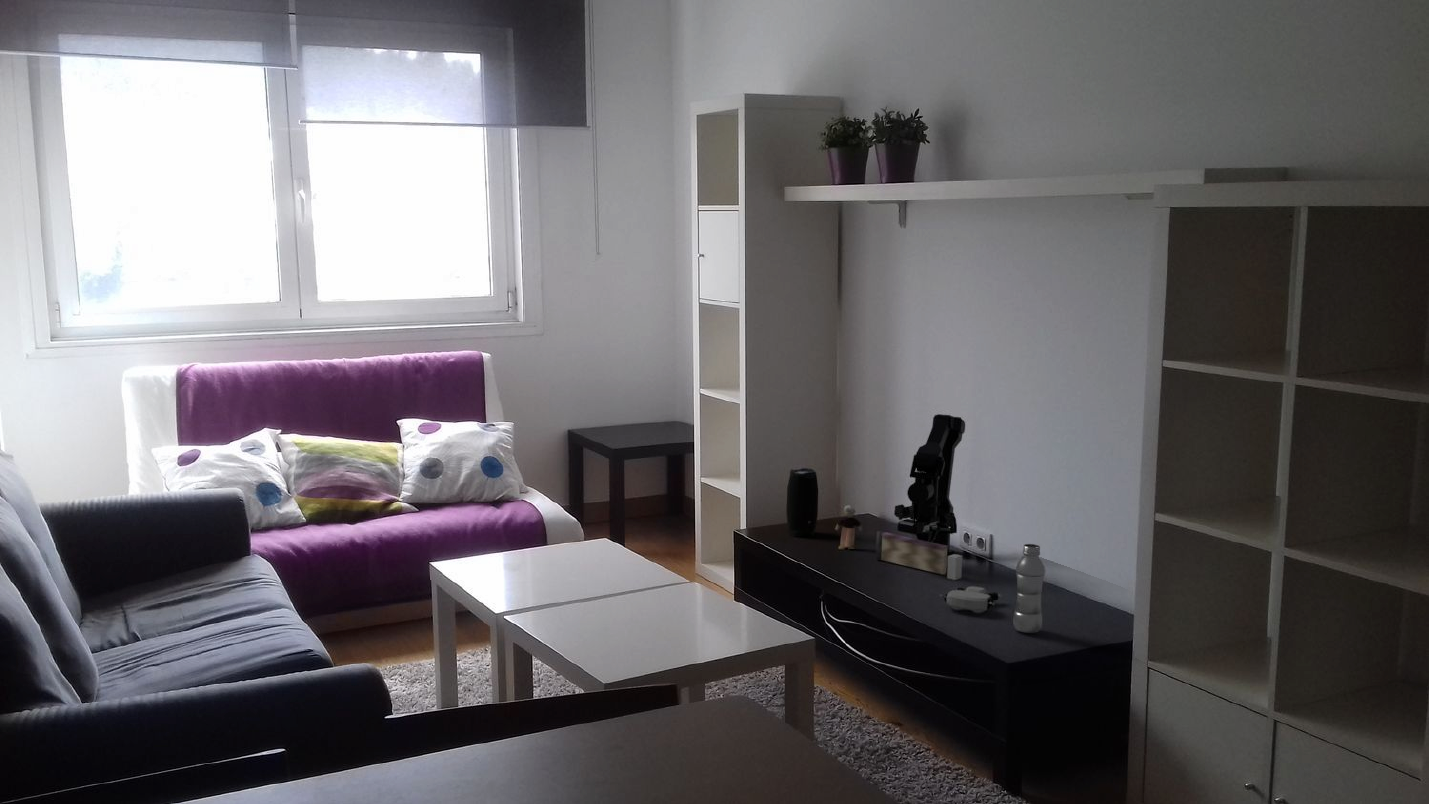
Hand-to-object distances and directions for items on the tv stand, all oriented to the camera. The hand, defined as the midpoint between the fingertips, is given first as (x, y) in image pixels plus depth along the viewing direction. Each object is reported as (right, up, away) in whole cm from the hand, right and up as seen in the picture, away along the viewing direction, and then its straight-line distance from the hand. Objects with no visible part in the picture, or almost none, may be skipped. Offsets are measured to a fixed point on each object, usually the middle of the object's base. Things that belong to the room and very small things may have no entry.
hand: (924, 553), depth 328 cm
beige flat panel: (-4, -3, -1) cm, 5 cm away
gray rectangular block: (+6, -5, -10) cm, 13 cm away
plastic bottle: (+14, -11, -53) cm, 56 cm away
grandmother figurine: (-19, -1, +19) cm, 26 cm away
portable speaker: (-31, +1, +35) cm, 46 cm away
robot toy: (+5, -9, -35) cm, 37 cm away
